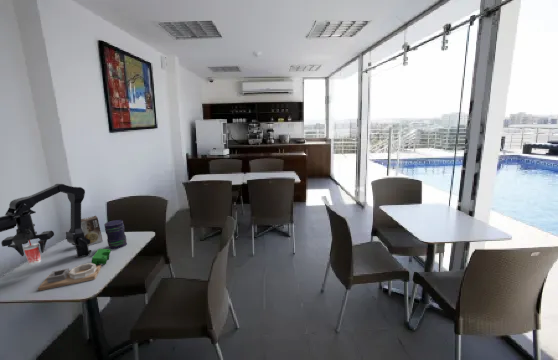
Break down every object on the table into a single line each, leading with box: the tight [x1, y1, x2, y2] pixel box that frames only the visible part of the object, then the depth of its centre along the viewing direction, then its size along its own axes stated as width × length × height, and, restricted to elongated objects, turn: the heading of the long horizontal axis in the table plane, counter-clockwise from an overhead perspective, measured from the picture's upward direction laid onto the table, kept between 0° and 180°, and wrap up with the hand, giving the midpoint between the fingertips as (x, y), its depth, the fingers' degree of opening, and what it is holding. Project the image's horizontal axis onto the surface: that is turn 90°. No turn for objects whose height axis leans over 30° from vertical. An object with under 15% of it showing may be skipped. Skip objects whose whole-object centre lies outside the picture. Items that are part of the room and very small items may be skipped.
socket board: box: [37, 262, 102, 291], centre depth 132 cm, size 12×22×4 cm, turn 110°
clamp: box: [91, 248, 112, 265], centre depth 146 cm, size 12×6×9 cm, turn 12°
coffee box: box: [81, 215, 104, 247], centre depth 172 cm, size 9×6×16 cm
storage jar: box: [104, 219, 128, 250], centre depth 165 cm, size 10×10×15 cm
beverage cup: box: [23, 240, 42, 266], centre depth 135 cm, size 6×6×14 cm
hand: (32, 254), depth 135 cm, fingers closed on beverage cup, 8 cm apart
